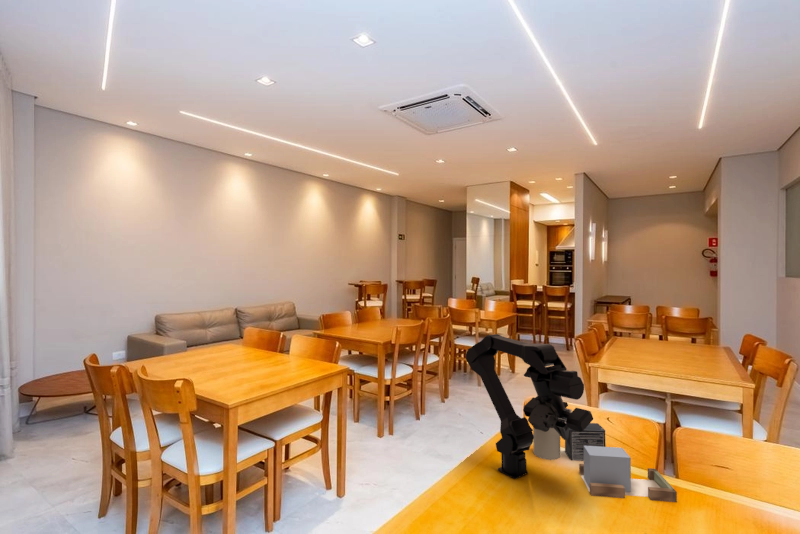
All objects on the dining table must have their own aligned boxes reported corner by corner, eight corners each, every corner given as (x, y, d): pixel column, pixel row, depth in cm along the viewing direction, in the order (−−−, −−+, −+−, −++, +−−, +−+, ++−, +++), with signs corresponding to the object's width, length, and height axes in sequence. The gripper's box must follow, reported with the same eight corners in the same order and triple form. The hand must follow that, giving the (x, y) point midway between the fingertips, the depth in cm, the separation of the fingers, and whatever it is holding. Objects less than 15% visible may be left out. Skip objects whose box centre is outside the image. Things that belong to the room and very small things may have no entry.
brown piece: (597, 510, 102) (597, 496, 102) (574, 467, 123) (574, 455, 123) (687, 518, 98) (687, 503, 98) (647, 472, 120) (647, 460, 120)
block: (590, 489, 110) (589, 455, 110) (583, 477, 116) (583, 445, 116) (630, 492, 108) (630, 457, 108) (622, 480, 114) (622, 447, 114)
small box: (598, 455, 131) (598, 422, 131) (606, 465, 125) (606, 430, 125) (564, 454, 132) (563, 421, 132) (570, 463, 126) (570, 429, 126)
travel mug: (557, 465, 125) (556, 405, 125) (530, 458, 129) (529, 401, 129) (562, 455, 132) (562, 398, 132) (537, 449, 136) (536, 394, 136)
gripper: (503, 400, 116) (522, 447, 119) (559, 416, 100) (580, 469, 103) (527, 379, 122) (545, 424, 124) (584, 390, 106) (603, 441, 108)
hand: (566, 439), depth 115 cm, fingers closed
